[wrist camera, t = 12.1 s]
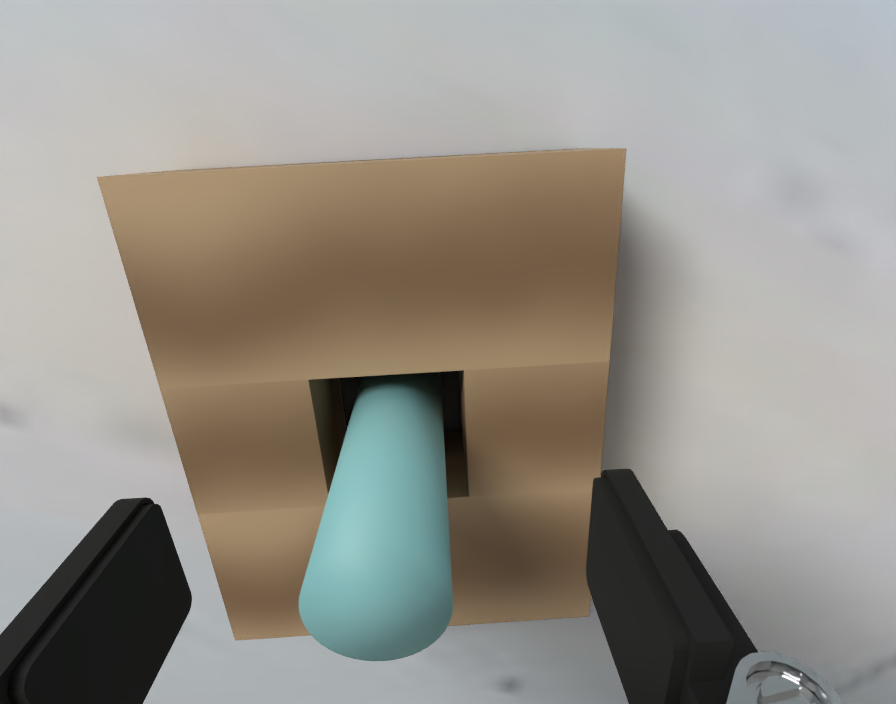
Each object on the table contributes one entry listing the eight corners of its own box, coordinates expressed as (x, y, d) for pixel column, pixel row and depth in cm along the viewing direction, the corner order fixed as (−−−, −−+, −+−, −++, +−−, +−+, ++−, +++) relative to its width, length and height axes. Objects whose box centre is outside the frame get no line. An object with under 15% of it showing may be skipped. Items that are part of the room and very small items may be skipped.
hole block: (174, 170, 16) (97, 177, 12) (580, 148, 16) (626, 148, 12) (267, 557, 22) (235, 640, 18) (562, 538, 22) (589, 616, 18)
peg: (357, 349, 18) (286, 554, 9) (438, 345, 18) (449, 543, 9) (366, 420, 20) (311, 665, 10) (442, 415, 20) (456, 656, 10)
